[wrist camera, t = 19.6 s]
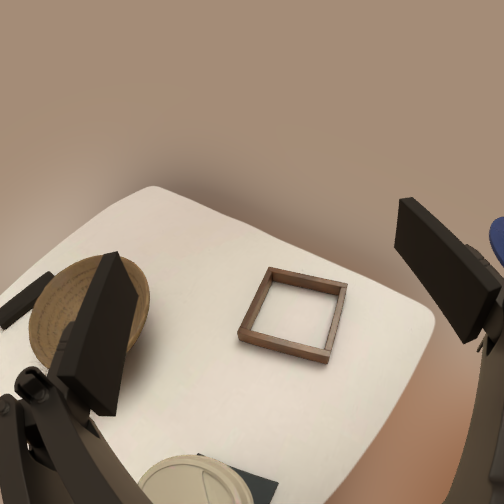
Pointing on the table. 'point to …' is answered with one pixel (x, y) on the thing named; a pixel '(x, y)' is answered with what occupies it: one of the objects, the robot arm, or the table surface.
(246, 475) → the felt mat
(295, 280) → the wooden square frame
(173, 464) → the coffee cup
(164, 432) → the table surface
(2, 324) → the remote control
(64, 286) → the bowl
